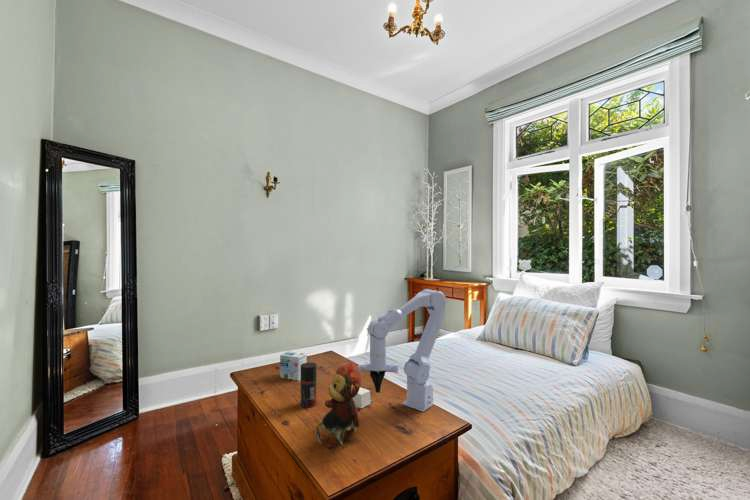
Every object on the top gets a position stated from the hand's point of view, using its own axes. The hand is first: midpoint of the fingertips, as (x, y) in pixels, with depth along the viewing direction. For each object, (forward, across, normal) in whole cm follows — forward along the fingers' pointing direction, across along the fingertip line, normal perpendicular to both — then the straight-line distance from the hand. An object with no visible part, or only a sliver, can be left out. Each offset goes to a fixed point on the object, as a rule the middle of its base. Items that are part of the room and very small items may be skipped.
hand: (378, 391), depth 124 cm
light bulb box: (+8, +44, -29) cm, 53 cm away
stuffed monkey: (+8, +9, +20) cm, 23 cm away
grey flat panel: (+7, +12, -7) cm, 15 cm away
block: (+4, +5, -3) cm, 7 cm away
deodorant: (+8, +27, -3) cm, 28 cm away
